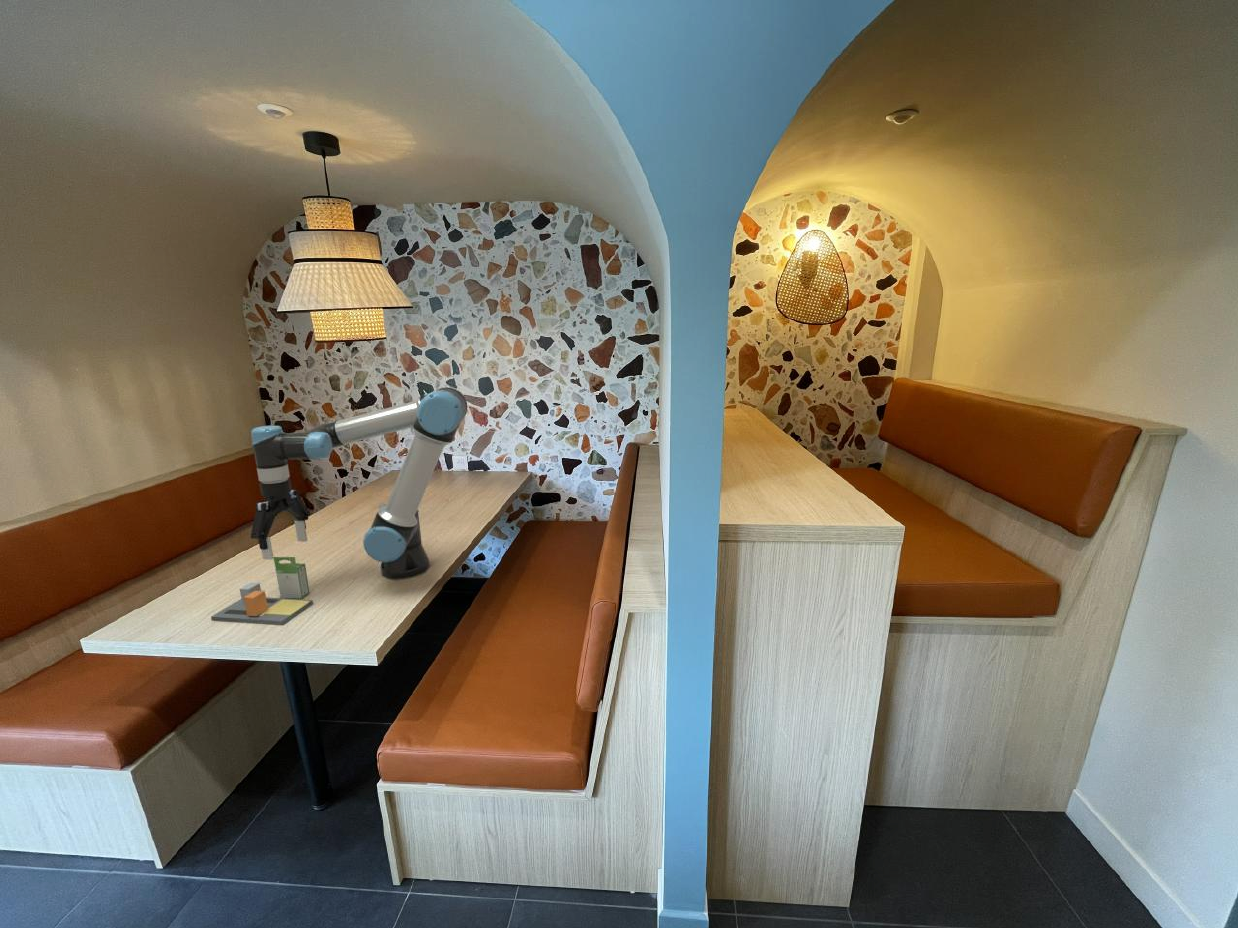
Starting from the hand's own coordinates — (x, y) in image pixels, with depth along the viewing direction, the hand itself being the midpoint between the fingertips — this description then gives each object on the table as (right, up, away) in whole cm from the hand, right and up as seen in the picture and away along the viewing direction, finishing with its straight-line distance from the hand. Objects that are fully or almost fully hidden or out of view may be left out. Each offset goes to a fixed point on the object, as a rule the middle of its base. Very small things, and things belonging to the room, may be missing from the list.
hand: (286, 549), depth 160 cm
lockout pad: (+4, -16, -6) cm, 17 cm away
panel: (-3, -17, -6) cm, 18 cm away
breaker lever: (-2, -16, -9) cm, 19 cm away
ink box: (+1, -15, +4) cm, 15 cm away
